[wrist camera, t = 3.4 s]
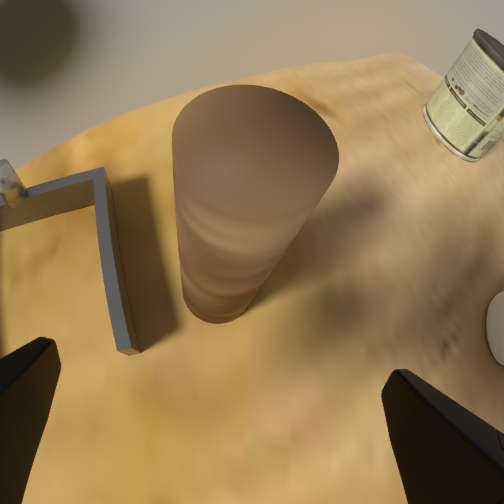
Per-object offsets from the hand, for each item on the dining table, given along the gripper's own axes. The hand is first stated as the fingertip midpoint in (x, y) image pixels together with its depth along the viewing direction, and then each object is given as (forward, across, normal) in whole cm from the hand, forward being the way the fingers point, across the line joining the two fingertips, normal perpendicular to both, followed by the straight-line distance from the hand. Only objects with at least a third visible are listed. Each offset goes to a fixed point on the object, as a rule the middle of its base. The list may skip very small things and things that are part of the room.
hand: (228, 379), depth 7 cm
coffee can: (+30, -27, -12) cm, 42 cm away
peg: (+13, 0, +4) cm, 13 cm away
